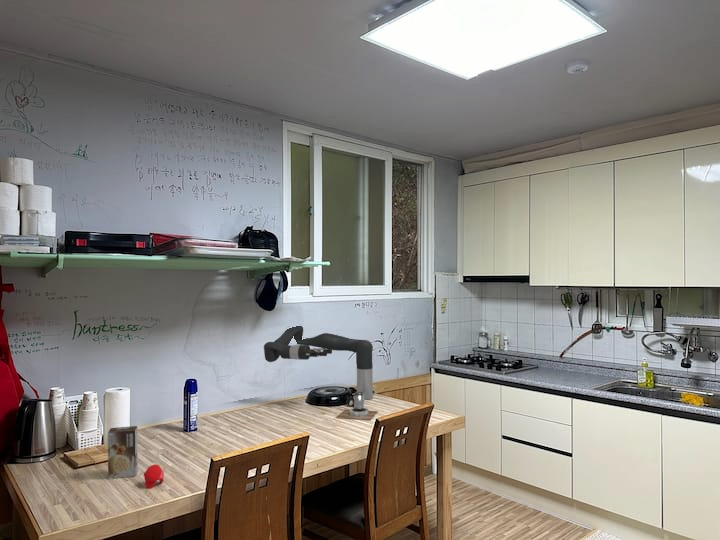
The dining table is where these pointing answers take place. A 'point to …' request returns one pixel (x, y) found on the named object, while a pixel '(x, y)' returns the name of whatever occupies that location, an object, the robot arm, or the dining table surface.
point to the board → (346, 415)
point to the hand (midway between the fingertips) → (329, 352)
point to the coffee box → (122, 452)
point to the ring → (359, 413)
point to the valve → (352, 401)
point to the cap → (153, 476)
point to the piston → (358, 402)
